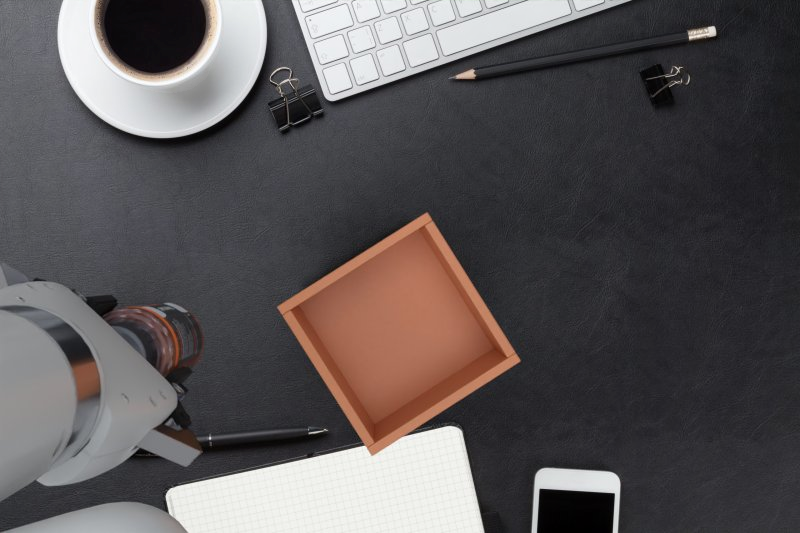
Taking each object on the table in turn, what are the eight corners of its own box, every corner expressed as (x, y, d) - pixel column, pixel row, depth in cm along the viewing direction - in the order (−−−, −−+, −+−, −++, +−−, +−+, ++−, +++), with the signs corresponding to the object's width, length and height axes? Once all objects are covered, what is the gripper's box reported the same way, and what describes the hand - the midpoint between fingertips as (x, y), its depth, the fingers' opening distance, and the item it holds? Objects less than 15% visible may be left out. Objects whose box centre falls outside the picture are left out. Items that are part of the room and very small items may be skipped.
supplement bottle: (171, 284, 57) (120, 287, 45) (222, 345, 57) (184, 364, 46) (108, 335, 57) (42, 352, 45) (160, 397, 57) (106, 428, 45)
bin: (504, 349, 60) (521, 361, 53) (371, 434, 60) (372, 456, 53) (420, 217, 60) (427, 211, 53) (287, 301, 59) (276, 306, 53)
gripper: (-213, 317, 32) (0, 301, 50) (90, 600, 32) (192, 482, 50) (-85, 188, 32) (81, 218, 50) (215, 470, 32) (271, 399, 50)
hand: (136, 350), depth 50 cm, fingers closed on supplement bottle, 6 cm apart
